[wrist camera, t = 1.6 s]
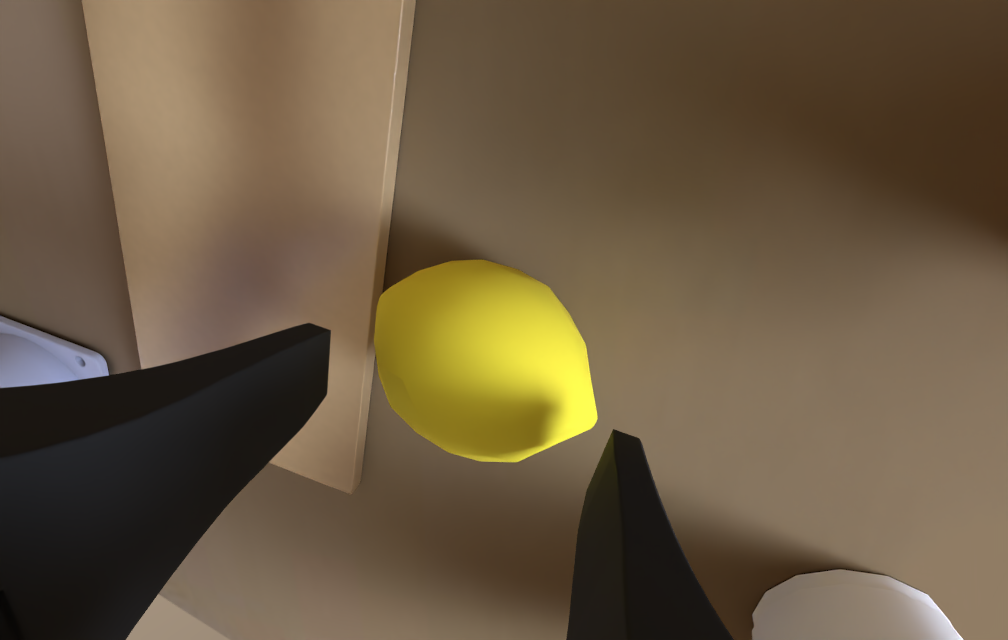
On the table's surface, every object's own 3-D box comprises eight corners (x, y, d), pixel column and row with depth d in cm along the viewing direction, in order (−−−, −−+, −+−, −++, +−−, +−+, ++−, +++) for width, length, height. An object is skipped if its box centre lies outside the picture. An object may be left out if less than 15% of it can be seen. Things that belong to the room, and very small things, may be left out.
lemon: (390, 323, 18) (298, 414, 13) (452, 192, 15) (363, 247, 11) (558, 427, 18) (525, 552, 13) (650, 314, 15) (647, 422, 11)
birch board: (163, 405, 23) (148, 416, 23) (82, -165, 14) (51, -178, 13) (361, 482, 22) (351, 495, 21) (426, -86, 12) (413, -95, 12)
